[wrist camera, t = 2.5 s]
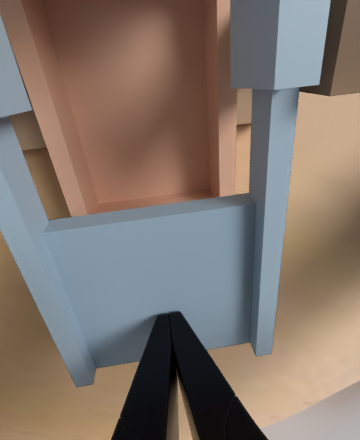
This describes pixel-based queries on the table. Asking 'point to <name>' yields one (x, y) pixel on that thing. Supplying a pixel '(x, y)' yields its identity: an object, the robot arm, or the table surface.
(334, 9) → the stand
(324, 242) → the table surface
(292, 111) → the lever
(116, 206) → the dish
